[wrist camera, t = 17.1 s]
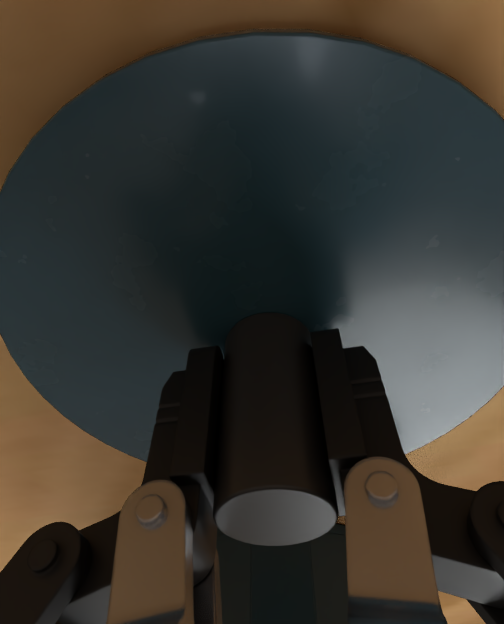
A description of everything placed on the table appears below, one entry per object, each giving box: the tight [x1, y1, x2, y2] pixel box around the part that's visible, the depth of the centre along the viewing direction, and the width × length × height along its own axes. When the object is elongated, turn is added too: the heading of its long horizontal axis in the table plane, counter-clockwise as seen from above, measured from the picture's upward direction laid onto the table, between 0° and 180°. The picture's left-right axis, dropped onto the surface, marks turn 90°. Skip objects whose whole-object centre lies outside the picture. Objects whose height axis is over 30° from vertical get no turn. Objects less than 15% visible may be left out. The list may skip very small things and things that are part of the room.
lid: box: [0, 29, 504, 546], centre depth 11 cm, size 15×15×6 cm
